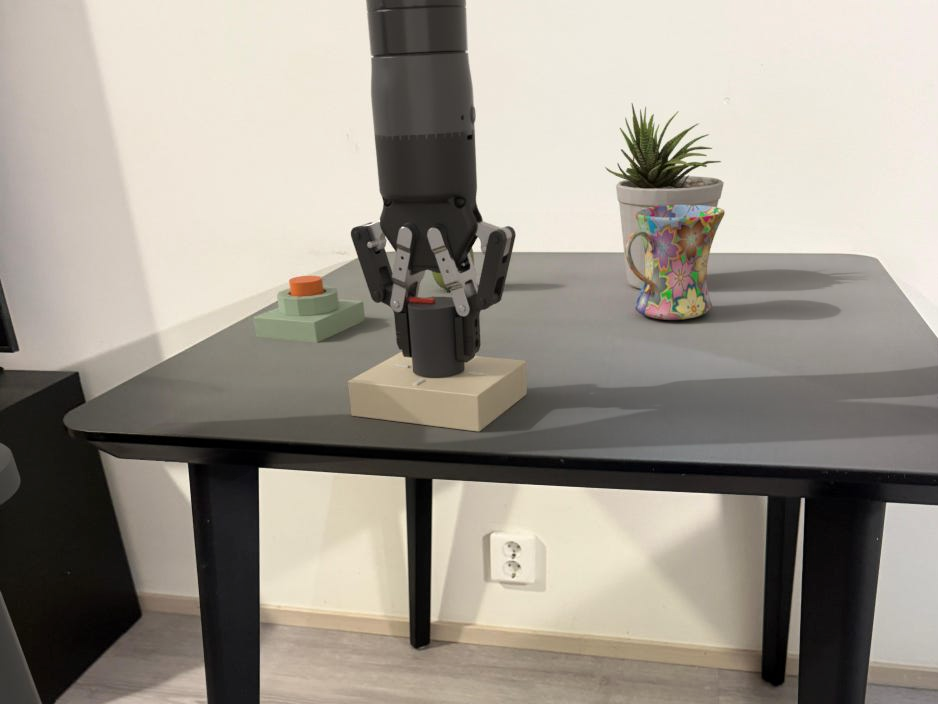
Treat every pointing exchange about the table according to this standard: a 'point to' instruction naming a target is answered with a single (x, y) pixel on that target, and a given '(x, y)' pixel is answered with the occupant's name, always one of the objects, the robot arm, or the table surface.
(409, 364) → the panel
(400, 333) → the robot arm
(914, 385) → the table surface
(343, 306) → the button block
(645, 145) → the potted plant
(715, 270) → the table surface
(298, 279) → the button
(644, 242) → the mug
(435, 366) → the dial
